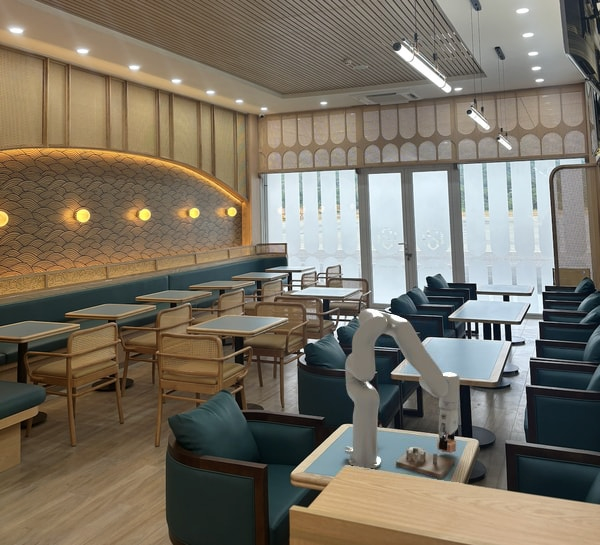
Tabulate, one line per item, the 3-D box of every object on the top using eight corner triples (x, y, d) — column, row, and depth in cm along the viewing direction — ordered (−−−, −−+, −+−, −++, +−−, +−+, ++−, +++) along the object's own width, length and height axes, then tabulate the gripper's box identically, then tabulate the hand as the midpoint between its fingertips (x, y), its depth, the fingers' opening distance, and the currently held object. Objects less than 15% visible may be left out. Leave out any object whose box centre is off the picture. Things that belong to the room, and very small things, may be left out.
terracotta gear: (434, 449, 211) (434, 442, 211) (440, 443, 217) (441, 436, 217) (452, 454, 207) (452, 446, 207) (458, 448, 213) (458, 440, 213)
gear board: (396, 465, 203) (396, 449, 203) (410, 452, 215) (411, 437, 214) (440, 478, 193) (441, 462, 192) (454, 463, 204) (454, 448, 203)
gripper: (450, 412, 201) (448, 456, 203) (465, 400, 215) (462, 441, 217) (431, 407, 206) (429, 450, 207) (447, 396, 220) (445, 436, 221)
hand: (446, 445), depth 212 cm, fingers closed on terracotta gear, 7 cm apart
